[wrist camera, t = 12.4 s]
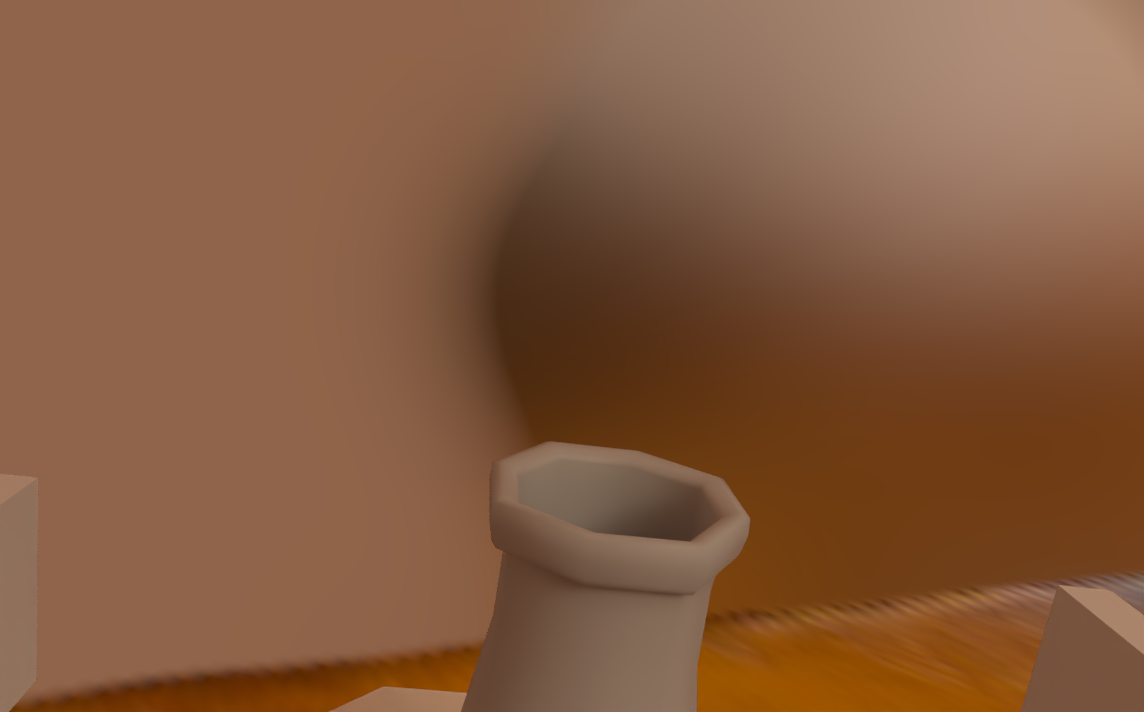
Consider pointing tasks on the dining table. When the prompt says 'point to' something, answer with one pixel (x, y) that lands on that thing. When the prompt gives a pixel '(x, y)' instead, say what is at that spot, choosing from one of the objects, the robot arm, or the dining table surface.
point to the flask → (601, 580)
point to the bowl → (405, 701)
